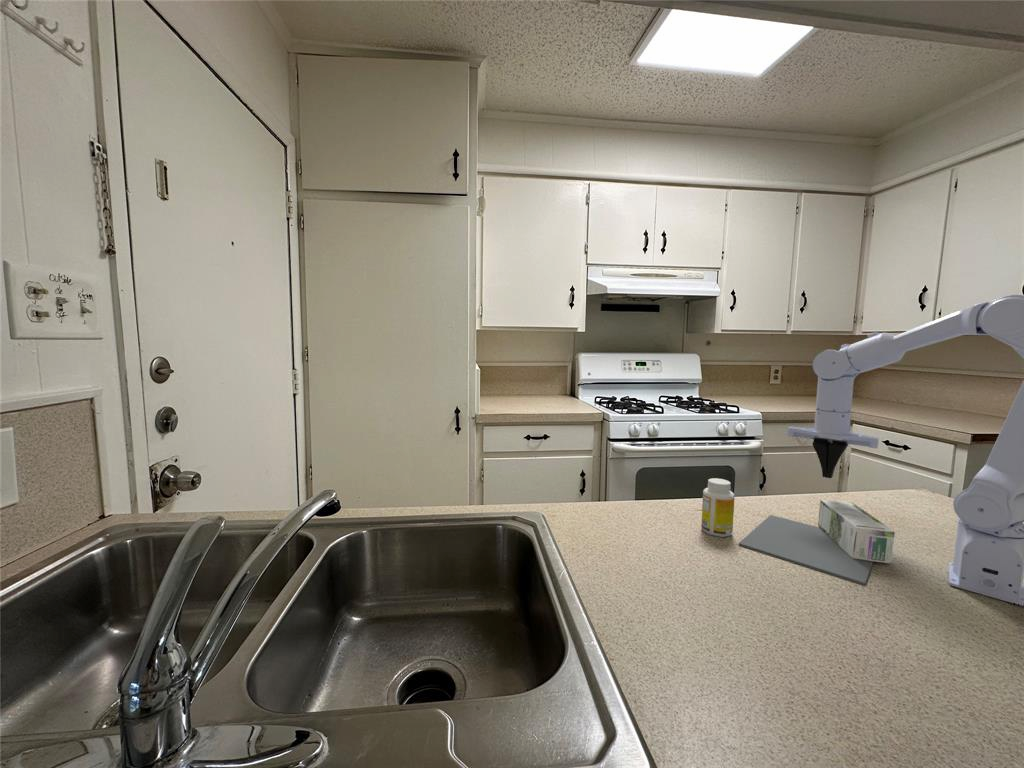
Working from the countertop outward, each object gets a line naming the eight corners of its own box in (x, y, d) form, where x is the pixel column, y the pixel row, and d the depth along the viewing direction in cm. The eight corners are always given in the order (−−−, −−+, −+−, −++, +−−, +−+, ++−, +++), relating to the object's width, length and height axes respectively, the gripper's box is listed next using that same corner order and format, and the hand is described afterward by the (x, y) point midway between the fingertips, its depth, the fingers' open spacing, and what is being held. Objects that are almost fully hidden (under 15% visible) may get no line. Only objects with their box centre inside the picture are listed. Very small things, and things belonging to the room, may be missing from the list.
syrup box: (849, 529, 85) (894, 565, 71) (815, 526, 87) (853, 559, 73) (852, 502, 85) (898, 532, 71) (818, 498, 86) (856, 527, 72)
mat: (864, 585, 65) (865, 582, 65) (738, 545, 78) (738, 543, 78) (879, 545, 79) (879, 543, 79) (770, 516, 92) (770, 514, 92)
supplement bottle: (737, 533, 83) (740, 482, 83) (724, 540, 80) (727, 487, 79) (709, 523, 88) (712, 475, 87) (695, 530, 84) (698, 480, 83)
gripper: (882, 413, 83) (876, 481, 84) (795, 404, 93) (791, 465, 95) (878, 416, 78) (872, 488, 79) (787, 407, 89) (782, 471, 90)
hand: (827, 476), depth 87 cm, fingers closed
